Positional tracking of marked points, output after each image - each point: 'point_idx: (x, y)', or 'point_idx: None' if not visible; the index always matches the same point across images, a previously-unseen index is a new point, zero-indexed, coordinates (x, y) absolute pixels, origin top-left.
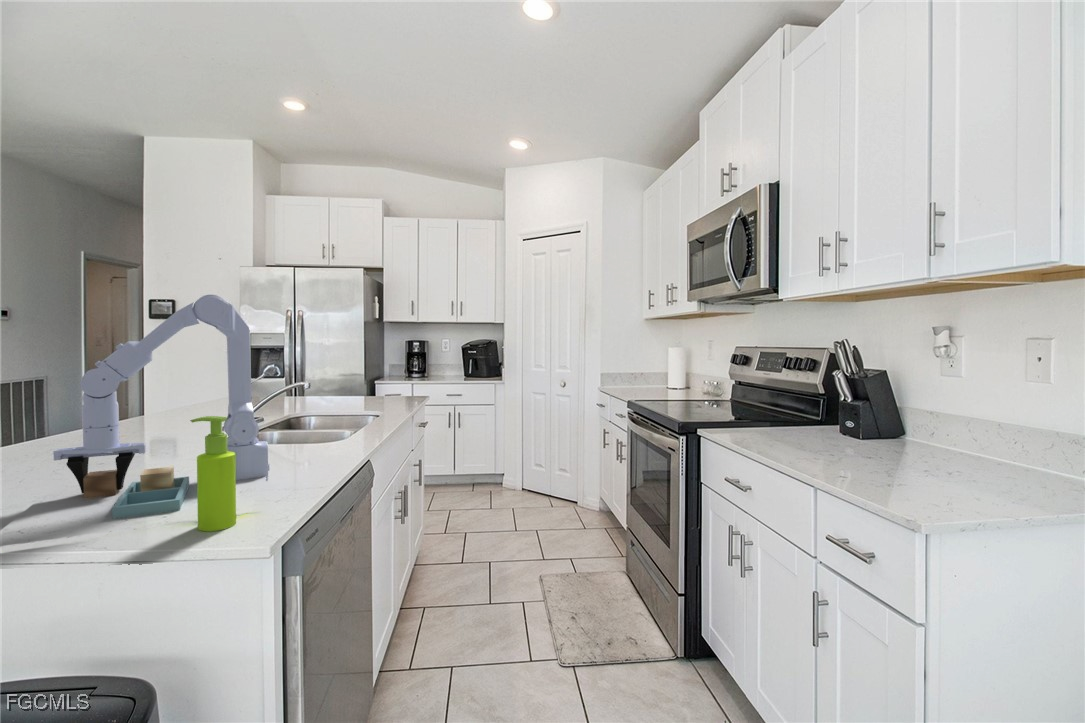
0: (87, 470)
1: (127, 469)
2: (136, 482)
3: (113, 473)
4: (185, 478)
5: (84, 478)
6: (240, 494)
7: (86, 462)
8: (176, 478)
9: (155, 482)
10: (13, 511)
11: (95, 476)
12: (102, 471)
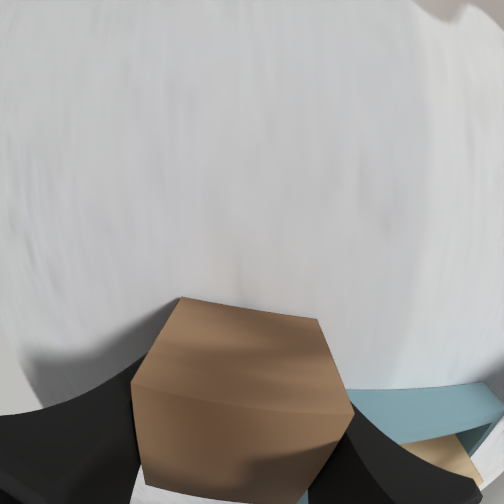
0: (118, 425)
1: (385, 437)
2: None
3: (292, 486)
4: (488, 431)
5: (151, 484)
6: (492, 444)
7: (95, 496)
8: (479, 425)
9: None
10: (10, 331)
11: (200, 494)
12: (224, 423)
